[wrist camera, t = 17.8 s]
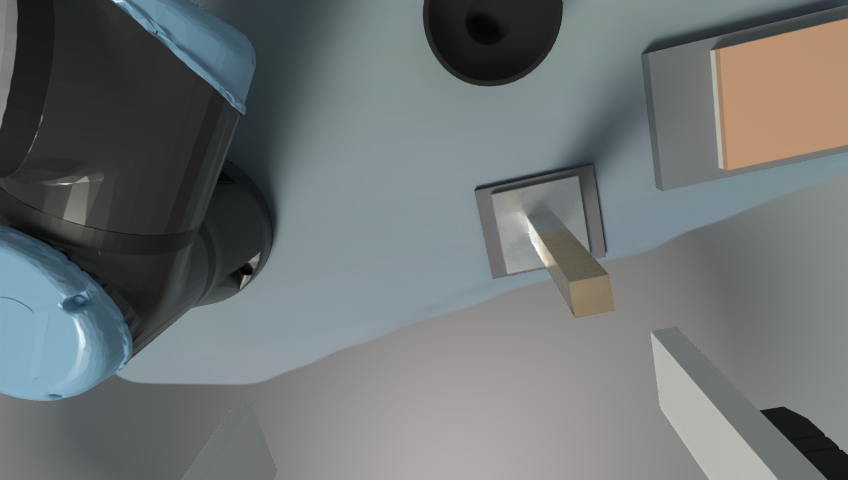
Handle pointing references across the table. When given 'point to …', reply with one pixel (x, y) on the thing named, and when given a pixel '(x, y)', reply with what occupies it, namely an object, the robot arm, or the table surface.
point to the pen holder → (491, 37)
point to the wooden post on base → (553, 241)
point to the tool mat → (583, 174)
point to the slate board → (704, 105)
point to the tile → (781, 95)
